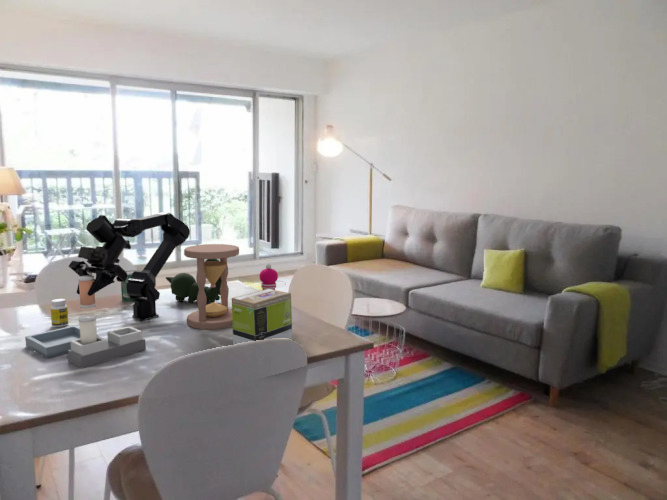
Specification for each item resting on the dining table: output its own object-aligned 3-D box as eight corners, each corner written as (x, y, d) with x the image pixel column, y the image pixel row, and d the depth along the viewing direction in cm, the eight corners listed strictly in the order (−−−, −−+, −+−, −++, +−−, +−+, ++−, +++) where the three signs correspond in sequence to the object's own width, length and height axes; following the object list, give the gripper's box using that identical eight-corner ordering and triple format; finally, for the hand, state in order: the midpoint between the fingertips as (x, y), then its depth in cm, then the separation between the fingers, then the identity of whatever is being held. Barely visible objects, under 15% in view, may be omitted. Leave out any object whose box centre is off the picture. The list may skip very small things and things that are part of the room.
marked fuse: (96, 303, 155) (94, 275, 153) (94, 307, 151) (92, 277, 150) (81, 304, 154) (79, 275, 152) (79, 308, 150) (76, 278, 148)
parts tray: (76, 334, 156) (75, 325, 155) (98, 344, 147) (97, 334, 147) (26, 346, 145) (25, 336, 144) (47, 358, 136) (46, 347, 136)
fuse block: (132, 343, 148) (131, 325, 147) (145, 349, 144) (144, 330, 143) (68, 361, 134) (67, 341, 134) (81, 368, 130) (79, 347, 129)
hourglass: (213, 333, 159) (211, 254, 155) (175, 323, 168) (172, 248, 164) (251, 319, 173) (250, 246, 169) (214, 311, 182) (212, 242, 178)
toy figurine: (229, 305, 196) (171, 295, 202) (232, 257, 193) (173, 248, 199) (217, 312, 187) (157, 301, 193) (220, 262, 184) (159, 252, 190)
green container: (122, 298, 199) (121, 270, 198) (144, 297, 202) (142, 269, 200) (120, 303, 192) (119, 274, 190) (143, 302, 194) (141, 273, 192)
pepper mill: (284, 322, 170) (284, 263, 167) (267, 327, 165) (267, 266, 161) (270, 318, 175) (269, 261, 172) (253, 322, 169) (252, 263, 166)
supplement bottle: (61, 328, 162) (59, 302, 161) (48, 327, 163) (46, 301, 162) (71, 323, 167) (70, 298, 165) (59, 322, 168) (57, 297, 166)
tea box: (269, 333, 159) (269, 287, 157) (292, 340, 153) (292, 292, 150) (231, 346, 147) (230, 296, 145) (255, 354, 141) (254, 302, 139)
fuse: (93, 345, 138) (91, 313, 136) (101, 349, 135) (99, 316, 134) (77, 349, 134) (75, 316, 133) (85, 353, 132) (82, 320, 130)
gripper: (71, 234, 156) (41, 276, 148) (117, 238, 149) (89, 282, 141) (94, 255, 165) (67, 296, 156) (139, 260, 158) (113, 303, 149)
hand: (83, 294), depth 150 cm, fingers closed on marked fuse, 4 cm apart
